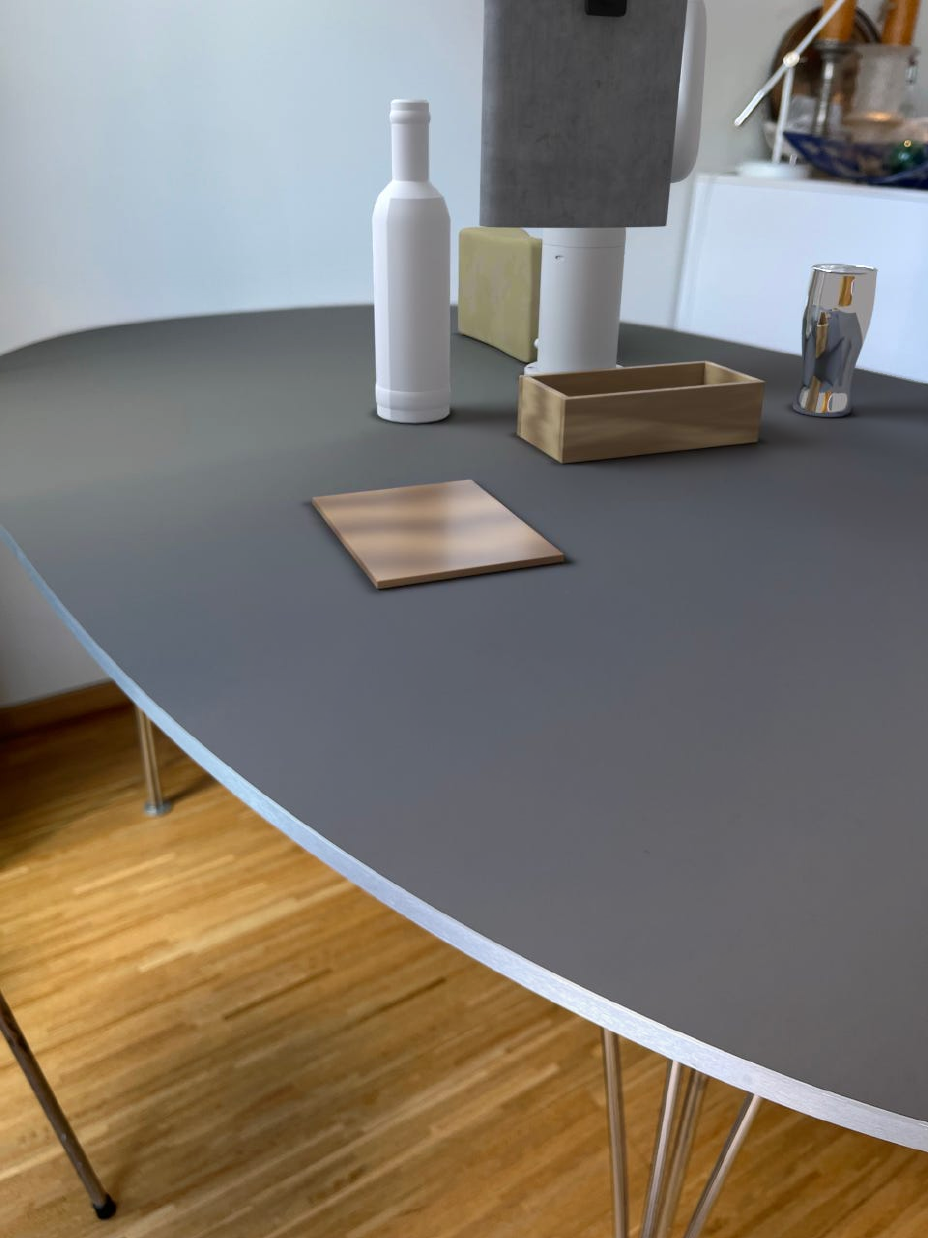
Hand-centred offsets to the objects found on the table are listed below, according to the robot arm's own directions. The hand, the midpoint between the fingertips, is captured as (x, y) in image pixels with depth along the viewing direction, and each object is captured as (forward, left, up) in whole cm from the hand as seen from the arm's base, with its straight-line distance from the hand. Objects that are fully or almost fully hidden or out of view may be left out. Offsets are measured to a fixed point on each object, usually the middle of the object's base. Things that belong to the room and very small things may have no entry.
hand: (588, 15), depth 77 cm
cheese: (-52, +18, -36) cm, 66 cm away
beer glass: (-10, +37, -36) cm, 52 cm away
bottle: (-23, -6, -36) cm, 43 cm away
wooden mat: (+10, -16, -36) cm, 40 cm away
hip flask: (0, 0, -15) cm, 15 cm away
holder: (-7, +12, -36) cm, 38 cm away
